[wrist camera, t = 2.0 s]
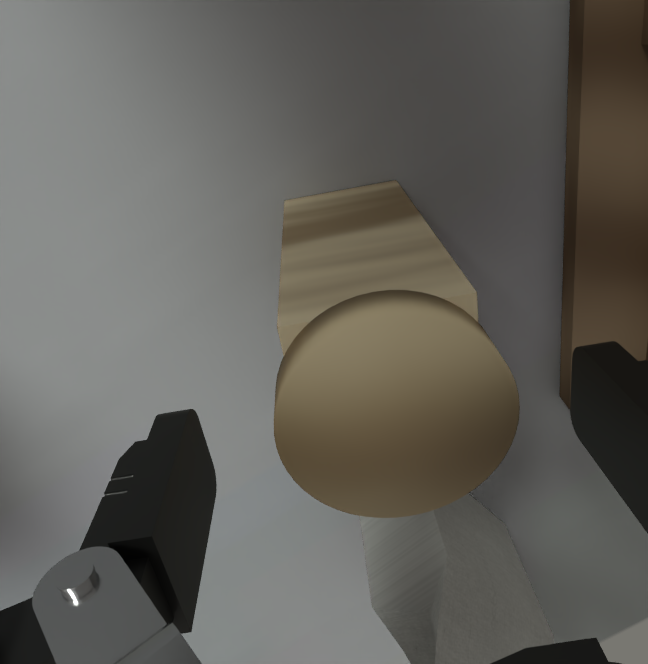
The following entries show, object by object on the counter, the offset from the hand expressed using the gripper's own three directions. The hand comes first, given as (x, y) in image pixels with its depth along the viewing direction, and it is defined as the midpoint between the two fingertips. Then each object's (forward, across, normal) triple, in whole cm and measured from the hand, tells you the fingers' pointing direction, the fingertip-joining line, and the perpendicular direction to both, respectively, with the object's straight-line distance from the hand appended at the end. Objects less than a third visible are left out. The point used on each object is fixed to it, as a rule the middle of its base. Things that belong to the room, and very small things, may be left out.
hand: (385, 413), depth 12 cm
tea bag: (+11, -2, +14) cm, 17 cm away
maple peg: (+10, 0, 0) cm, 10 cm away
